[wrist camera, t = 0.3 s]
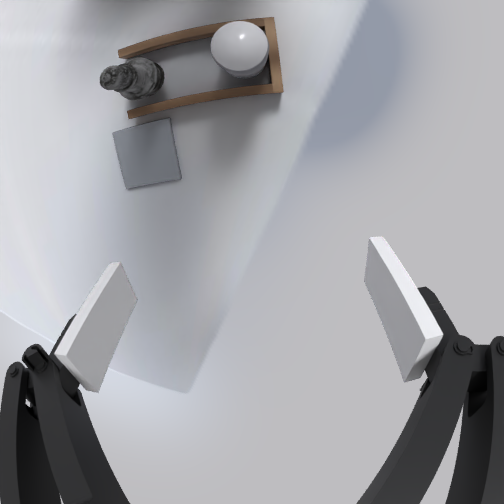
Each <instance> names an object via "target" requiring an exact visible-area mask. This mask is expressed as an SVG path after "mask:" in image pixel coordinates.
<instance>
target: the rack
mask: <svg viewBox="0 0 504 504" xmlns="http://www.w3.org/2000/svg"><path fill="white" fill-rule="evenodd" d="M237 21H245V22H249V23H252V24H254V25H256V26H258V27H259V28H260V29H261V30H265V35H266V37H267V39H268V41H269V53H268V59H269V67H270V75H271V84H265V85H254V86H245V87H237V88H229V89H223V90H216V91H210V92H204V93H199V94H194V95H189V96H184V97H179V98H174V99H170V100H166V101H162V102H158V103H154V104H150V105H146V106H143V107H139V108H135V109H132V110H129V111H127V113H128V118H129V119H131V118H135V117H138V116H142V115H146V114H150V113H154V112H158V111H162V110H166V109H170V108H175V107H180V106H184V105H189V104H195V103H200V102H206V101H212V100H218V99H224V98H232V97H239V96H248V95H257V94H268V93H282V92H283V84H282V75H281V67H280V59H279V51H278V43H277V36H276V29H275V22H274V17H269V18H256V19H246V20H237ZM231 22H235V21H230V22H223V23H217V24H211V25H206V26H201V27H196V28H191V29H187V30H182V31H178V32H174V33H170V34H167V35H163V36H159V37H156V38H153V39H149V40H146V41H143V42H140V43H137V44H134V45H131V46H128V47H126V48H123V49H120V50H118V55H119V58H123V59H129V58H131V57H134V56H137V55H140V54H144V53H147V52H150V51H153V50H157V49H160V48H164V47H168V46H172V45H176V44H180V43H184V42H188V41H193V40H198V39H203V38H208V37H213V36H214V34H215V33H216V31H217V30H218V29H219V28H221V27H222V26H224V25H225V24H228V23H231Z"/></svg>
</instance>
